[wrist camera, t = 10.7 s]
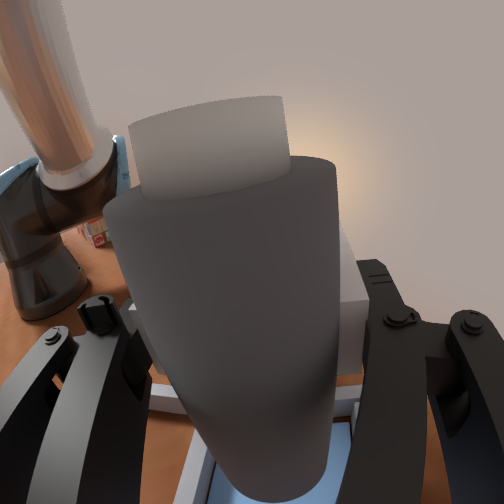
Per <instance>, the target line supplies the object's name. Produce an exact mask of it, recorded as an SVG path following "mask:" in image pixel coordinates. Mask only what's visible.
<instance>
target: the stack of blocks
mask: <svg viewBox="0 0 504 504" xmlns="http://www.w3.org/2000/svg"><path fill="white" fill-rule="evenodd" d="M77 229H78V232H79V234H80V235H81V236H83V237H84V238H85V239H86V240H87V241H89V242H90V243H91V244H92V245H93V246H94V247H95V248H97V247H99V246H101V245H103V244H106V243H108V242H110V241H111V239H110V236H109V232H108V229H107V226H106V223H105V219H104V218H100V219H97V220H94V221H91V222H87V223H84V224H81V225H78V226H77Z"/></svg>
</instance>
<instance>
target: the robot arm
mask: <svg viewBox="0 0 504 504" xmlns="http://www.w3.org/2000/svg"><path fill="white" fill-rule="evenodd" d="M0 90H1V92H2V94H3V96H4V98H5V100H6V101H7V103H8V105H9V107H10V109H11V111H12V113H13V114H14V116H15V118H16V120H17V121H18V123H19V125H20V127H21V128H22V130H23V132H24V134H25V135H26V137H27V139H28V140H29V142H30V144H31V145H32V147H33V148H34V150H35V152H36V153H37V155H38V156H39V157H40V160H39V159H38V158H37V157H32V158H29V159H27V160H24V161H22V162H20V163H19V164H17V165H15V166H13V167H11V168H10V169H8V170H6V171H5V172H3V173H2V174H0V252H1V255H2V257H3V259H4V262H5V264H6V267H7V269H8V272H9V276H10V283H11V289H12V294H13V299H14V304H15V307H16V309H17V311H18V313H19V315H20V316H21V318H23V319H25V320H38V319H42V318H45V317H48V316H50V315H53V314H55V313H57V312H59V311H60V310H62V309H64V308H65V307H67V306H68V305H70V304H71V303H72V302H73V301H75V300H76V299H77V298H78V297H79V296H80V295H81V294H82V292H83V291H84V289H85V288H86V286H87V278H86V275H85V273H84V271H83V269H82V267H81V266H80V265H79V264H78V263H77V261H76V260H75V259H74V257H73V256H72V255H71V253H70V252H69V251H68V249H67V248H66V247H65V245H64V244H63V241H62V239H61V236H60V233H59V232H61V231H63V230H66V229H69V228H72V227H75V226H78V225H81V224H84V223H87V222H91V221H94V220H97V219H100V218H104V216H103V213H102V212H103V208H104V206H105V205H106V204H107V203H108V202H109V201H111V200H112V199H113V198H115V197H116V196H118V195H120V194H121V193H123V192H125V191H127V190H129V189H131V182H130V176H129V169H128V160H127V152H126V146H125V139H124V137H122V136H112V135H111V133H110V131H109V130H108V129H107V128H106V127H105V126H103V125H101V124H99V123H95V120H94V118H93V115H92V112H91V109H90V106H89V103H88V100H87V97H86V93H85V90H84V87H83V84H82V81H81V77H80V74H79V71H78V67H77V64H76V60H75V56H74V53H73V49H72V45H71V41H70V37H69V33H68V29H67V24H66V20H65V15H64V11H63V6H62V1H61V0H0ZM339 233H340V321H339V346H338V364H337V375H345V374H355V373H361V369H362V362H363V367H364V379H363V385H362V390H361V395H360V403H359V409H358V414H357V419H356V424H355V429H354V434H353V438H352V443H351V447H350V451H349V455H348V459H347V463H346V467H345V471H344V475H343V479H342V482H341V486H340V489H339V492H338V496H337V499H336V502H335V504H420V499H421V492H422V484H423V476H424V466H425V453H426V436H427V395H428V399H429V402H430V405H431V409H432V412H433V416H434V420H435V423H436V427H437V431H438V435H439V439H440V443H441V447H442V452H443V456H444V461H445V466H446V471H447V476H448V481H449V487H450V493H451V499H452V504H504V340H503V339H502V337H501V336H500V334H499V333H498V331H497V329H496V328H495V326H494V325H493V323H492V322H491V321H490V320H489V318H488V317H487V316H485V315H483V314H482V313H480V312H477V311H473V310H462V311H459V312H456V313H455V314H454V315H453V316H452V317H451V321H450V324H438V323H430V322H425V321H422V320H421V317H420V315H419V313H418V312H416V311H415V310H414V309H413V308H411V307H409V306H406V305H405V304H404V302H403V300H402V298H401V296H400V294H399V292H398V290H397V288H396V286H395V284H394V282H393V280H392V278H391V276H390V274H389V272H388V270H387V268H386V266H385V265H384V264H382V263H381V262H380V261H378V260H377V259H371V260H360V261H356V260H355V258H354V255H353V253H352V250H351V247H350V245H349V243H348V240H347V237H346V235H345V232H344V230H343V228H342V225H341V222H340V220H339ZM77 311H78V313H79V315H80V317H81V319H82V321H83V323H84V324H85V326H86V328H87V332H86V334H85V335H81V336H75V337H72V335H71V334H70V332H69V330H68V328H67V327H65V326H56V327H52V328H50V329H49V330H48V331H46V332H45V333H44V334H43V335H42V336H41V337H40V338H39V340H38V341H37V342H36V343H35V344H34V345H33V347H32V348H31V349H30V350H29V352H28V353H27V354H26V355H25V356H24V358H23V359H22V360H21V361H20V363H19V364H18V365H17V367H16V368H15V369H14V370H13V372H12V373H11V374H10V376H9V377H8V378H7V379H6V381H5V382H4V383H3V385H2V386H1V388H0V504H139V502H140V486H141V473H142V462H143V451H144V442H145V433H146V425H147V417H148V409H149V402H150V395H151V388H152V377H151V375H150V374H149V372H148V371H149V369H150V367H151V365H152V363H153V364H154V366H155V368H156V370H157V372H158V374H162V375H166V373H165V371H164V369H163V367H162V365H161V363H160V361H159V359H158V357H157V355H156V353H155V350H154V348H153V346H152V344H151V342H150V340H149V337H148V335H147V333H146V331H145V328H144V326H143V324H142V321H141V319H140V317H139V314H138V312H137V310H136V307H135V305H134V302H133V300H132V297H131V295H130V296H129V298H128V299H127V300H126V301H125V303H124V304H123V305H122V307H121V308H120V309H119V310H118V308H117V306H116V303H115V301H114V299H113V297H112V296H111V295H108V294H100V295H96V296H93V297H91V298H89V299H87V300H85V301H84V302H83V303H81V304H80V305H79V306H78V308H77ZM55 374H56V375H57V376H58V378H59V379H60V380H61V382H62V383H63V387H62V389H61V390H59V389H58V388H57V386H56V385H55V384H54V382H53V381H52V378H53V377H54V376H55Z"/></svg>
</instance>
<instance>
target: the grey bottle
mask: <svg viewBox="0 0 504 504" xmlns="http://www.w3.org/2000/svg"><path fill="white" fill-rule="evenodd" d="M128 128H129V133H130V139H131V144H132V149H133V153H134V158H135V162H136V167H137V172H138V176H139V180H140V185H138V186H136V187H134V188H131V189H129V190H127V191H125V192H123V193H121V194H120V195H118V196H116V197H115V198H113V199H112V200H111V201H109V202H108V203H107V204H106V205H105V206H104V208H103V212H102V213H103V216H104V219H105V223H106V226H107V229H108V232H109V236H110V239H111V242H112V245H113V248H114V251H115V254H116V257H117V260H118V262H119V265H120V268H121V271H122V274H123V276H124V279H125V282H126V284H127V287H128V289H129V292H130V295H131V297H132V300H133V302H134V305H135V307H136V310H137V312H138V314H139V317H140V319H141V321H142V324H143V326H144V328H145V331H146V333H147V335H148V337H149V340H150V342H151V344H152V346H153V348H154V350H155V353H156V355H157V357H158V359H159V361H160V363H161V365H162V367H163V369H164V371H165V373H166V375H167V377H168V379H169V381H170V383H171V385H172V387H173V389H174V391H175V393H176V395H177V396H178V398H179V400H180V402H181V404H182V406H183V407H184V409H185V411H186V413H187V415H188V416H189V418H190V420H191V421H192V423H193V425H194V427H195V428H196V430H197V432H198V433H199V435H200V437H201V438H202V440H203V442H204V443H205V445H206V446H207V448H208V450H209V451H210V453H211V454H212V456H213V457H214V459H215V460H216V462H217V464H218V465H219V467H220V468H221V470H222V471H223V472H224V474H225V475H226V477H227V478H228V480H229V481H230V483H231V484H232V485H233V486H234V488H235V489H236V490H237V491H239V492H240V493H241V494H243V495H244V496H246V497H248V498H250V499H252V500H255V501H259V502H263V503H282V502H287V501H291V500H294V499H297V498H299V497H301V496H303V495H305V494H306V493H308V492H309V491H310V490H312V489H313V488H314V487H315V486H316V485H317V484H318V482H319V481H320V480H321V478H322V477H323V475H324V472H325V470H326V466H327V461H328V454H329V447H330V439H331V431H332V422H333V413H334V403H335V392H336V380H337V364H338V346H339V321H340V233H339V211H338V191H337V177H336V167H335V165H334V164H333V163H332V162H330V161H328V160H324V159H320V158H315V157H307V156H290V153H289V145H288V137H287V131H286V123H285V116H284V109H283V103H282V97H280V96H256V97H245V98H235V99H227V100H220V101H214V102H208V103H203V104H198V105H193V106H188V107H184V108H179V109H175V110H172V111H168V112H164V113H160V114H157V115H154V116H151V117H148V118H145V119H142V120H139V121H137V122H134V123H132V124H130V125H129V126H128Z"/></svg>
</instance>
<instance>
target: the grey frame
mask: <svg viewBox="0 0 504 504" xmlns="http://www.w3.org/2000/svg"><path fill="white" fill-rule="evenodd" d="M362 385H363V384H361V385H352V386H342V387H336V392H335V403H334V413H333V417H342V416H351V428H352V438H353V434H354V429H355V424H356V419H357V414H358V409H359V403H360V395H361V390H362ZM149 409H150V410H156V411H163V412H170V413H177V414H185V415H187V413H186V411H185V409H184V407H183V406H182V404H181V402H180V400H179V398H178V396H177V395H176V393H175V391H174V389H173V387H172V386H171V385H161V384H153V383H152V388H151V395H150V402H149ZM350 447H351V439H350V426H349V422H341V423H332V431H331V439H330V447H329V454H328V461H327V466H326V470H325V472H324V475H323V477H322V478H321V480H320V481H319V482H318V484H317V485H316V486H315V487H314V488H313V489H312V490H310V491H309V492H308V493H306V494H305V495H303V496H301V497H299V498H297V499H294V500H291V501H287V502H282V503H263V502H259V501H255V500H252V499H250V498H248V497H246V496H244V495H243V494H241V493H240V492H239V491H237V490H236V489H235V488H234V486H233V485H232V484H231V483H230V481H229V480H228V478H227V477H226V475H225V474H224V472H223V471H222V470H221V468H220V467H219V465H218V464H217V463H216V460H215V459H214V457H213V456H212V454H211V453H210V451H209V450H208V448H207V446H206V445H205V443H204V442H203V440H202V438H201V437H200V435H199V433H198V432H197V430H196V428H195V431H194V434H193V438H192V441H191V445H190V448H189V451H188V455H187V458H186V462H185V465H184V468H183V472H182V475H181V479H180V482H179V486H178V489H177V492H176V496H175V499H174V503H173V504H206V502H207V498H208V493H209V489H210V485H211V481H212V476H213V472H214V468H215V472H214V476H213V481H212V485H211V489H210V494H209V498H208V502H207V504H335V502H336V499H337V496H338V492H339V489H340V486H341V482H342V479H343V475H344V471H345V467H346V463H347V459H348V455H349V451H350ZM215 463H216V467H215Z"/></svg>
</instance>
